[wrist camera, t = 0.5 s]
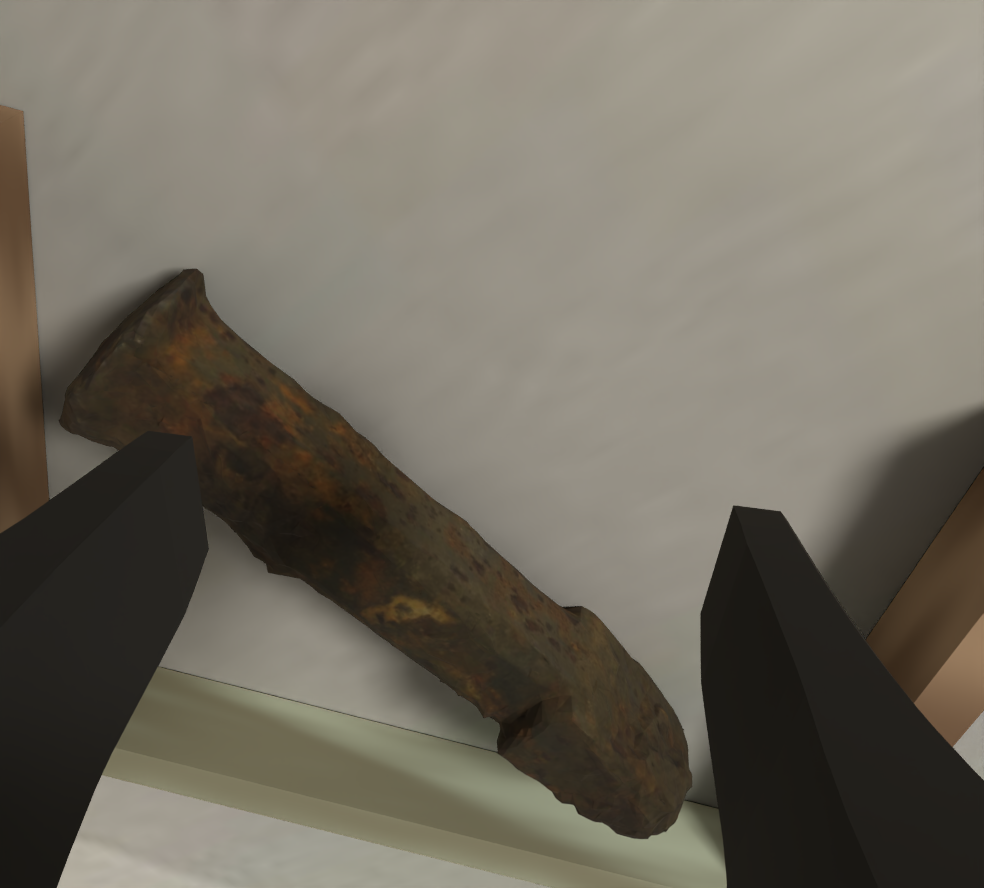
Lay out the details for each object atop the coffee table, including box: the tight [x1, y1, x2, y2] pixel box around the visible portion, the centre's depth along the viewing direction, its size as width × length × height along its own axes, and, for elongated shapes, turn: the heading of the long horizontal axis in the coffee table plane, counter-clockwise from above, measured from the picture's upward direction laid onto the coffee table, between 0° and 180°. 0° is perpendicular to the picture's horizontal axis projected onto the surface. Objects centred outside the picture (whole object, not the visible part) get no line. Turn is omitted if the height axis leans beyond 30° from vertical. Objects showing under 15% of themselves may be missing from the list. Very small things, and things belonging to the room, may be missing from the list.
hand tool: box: [59, 269, 692, 839], centre depth 23 cm, size 19×4×5 cm, turn 43°
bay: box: [0, 105, 984, 888], centre depth 24 cm, size 18×25×3 cm
